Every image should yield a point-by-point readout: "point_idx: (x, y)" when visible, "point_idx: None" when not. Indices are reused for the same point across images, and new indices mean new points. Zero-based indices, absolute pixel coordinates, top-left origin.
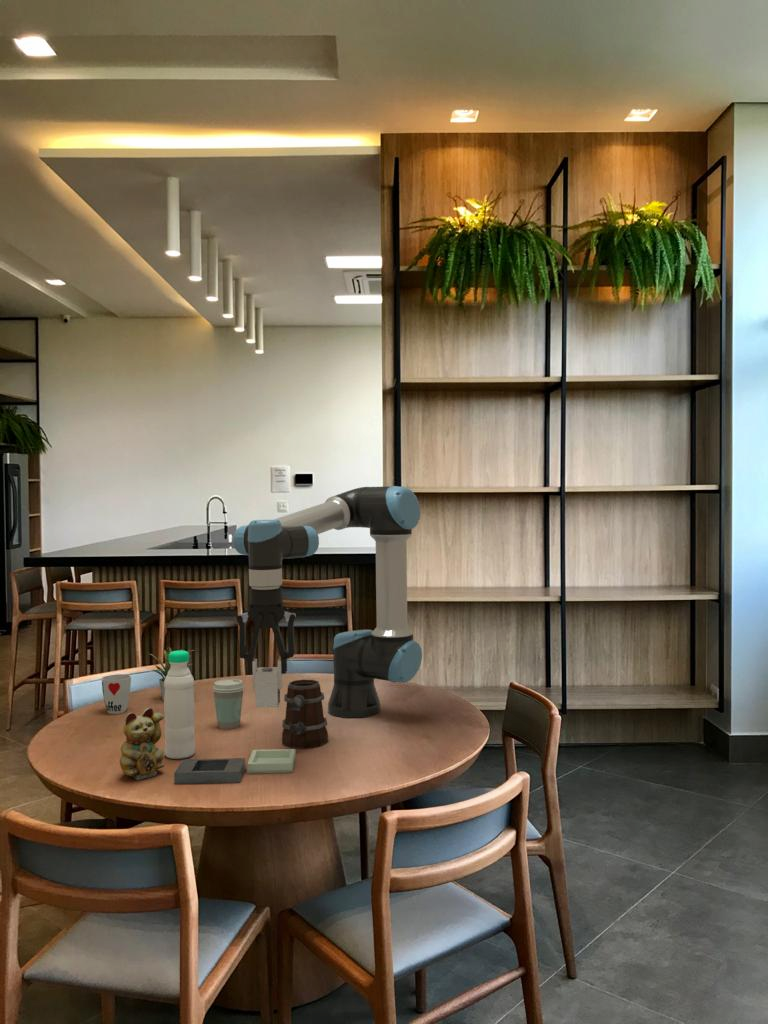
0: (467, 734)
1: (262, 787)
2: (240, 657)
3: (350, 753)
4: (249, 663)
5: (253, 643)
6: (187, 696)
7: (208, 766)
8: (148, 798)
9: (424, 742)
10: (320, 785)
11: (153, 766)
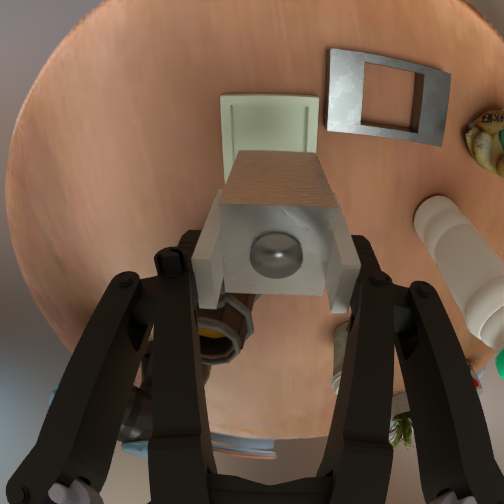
0: (27, 265)
1: (275, 20)
2: (427, 285)
3: (134, 198)
4: (371, 269)
5: (375, 356)
6: (476, 271)
7: (394, 127)
8: (465, 22)
9: (54, 241)
10: (162, 33)
11: (481, 120)
